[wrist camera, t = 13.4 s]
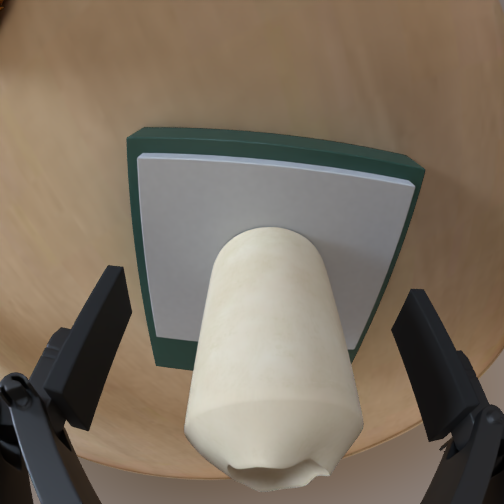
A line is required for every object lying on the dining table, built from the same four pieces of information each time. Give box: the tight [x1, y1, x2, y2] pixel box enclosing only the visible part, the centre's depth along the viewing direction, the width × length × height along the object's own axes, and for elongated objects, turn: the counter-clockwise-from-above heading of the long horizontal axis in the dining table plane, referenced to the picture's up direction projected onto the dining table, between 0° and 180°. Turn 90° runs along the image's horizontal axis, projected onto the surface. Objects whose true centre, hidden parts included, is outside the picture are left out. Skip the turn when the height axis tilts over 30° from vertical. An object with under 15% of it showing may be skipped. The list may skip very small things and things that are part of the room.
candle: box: [184, 227, 364, 492], centre depth 11 cm, size 6×6×10 cm
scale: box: [127, 127, 425, 371], centre depth 18 cm, size 14×16×3 cm
